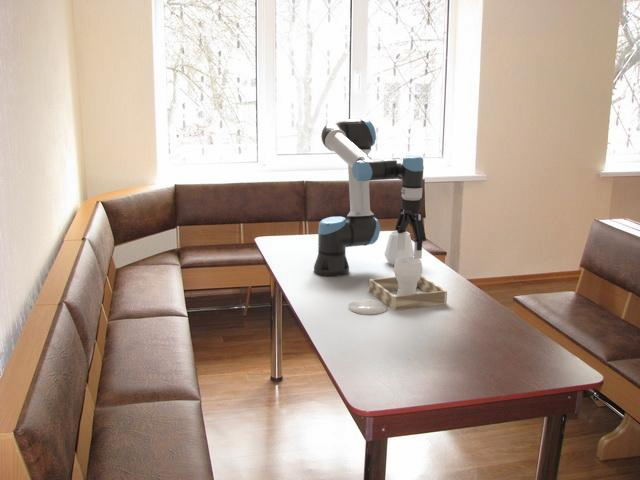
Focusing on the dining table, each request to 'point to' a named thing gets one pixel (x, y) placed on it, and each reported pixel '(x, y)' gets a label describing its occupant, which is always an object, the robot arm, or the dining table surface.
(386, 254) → the cup
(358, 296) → the dining table surface
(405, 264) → the cup
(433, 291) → the corral
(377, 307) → the disc
